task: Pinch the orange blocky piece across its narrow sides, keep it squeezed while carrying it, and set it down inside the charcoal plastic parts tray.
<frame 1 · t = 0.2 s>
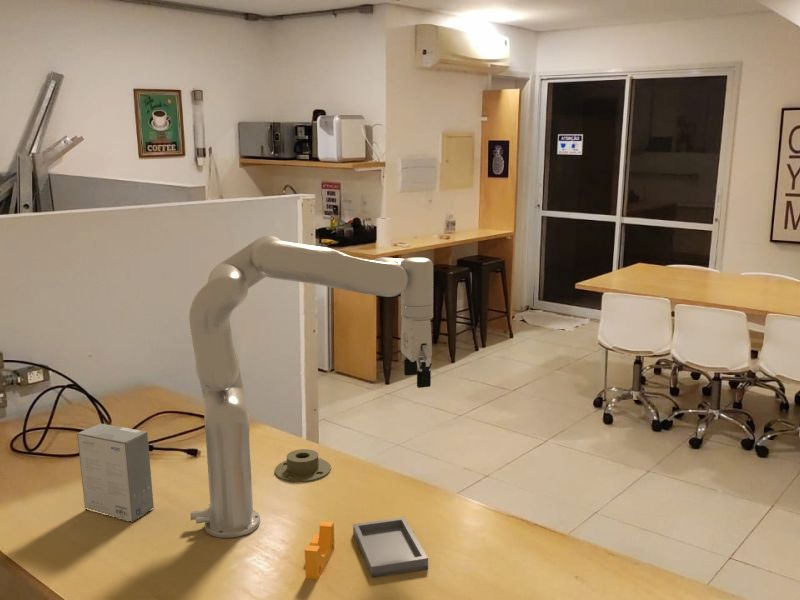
hand: (417, 380, 179), 31 cm above the table, tool pointing down, fingers open, 9 cm apart
flange: (303, 472, 203), on the table
orange blocky piece: (316, 564, 158), on the table
hard drive box: (119, 510, 181), on the table
parts tray: (389, 550, 163), on the table
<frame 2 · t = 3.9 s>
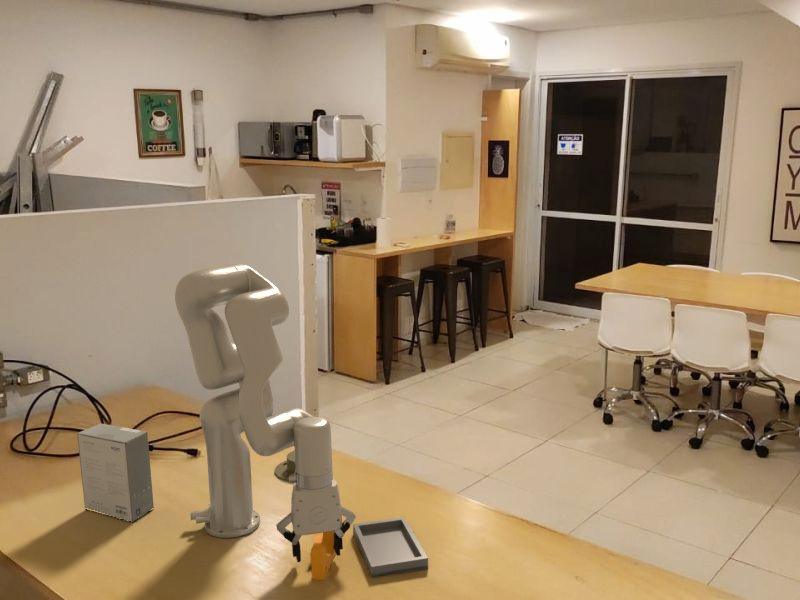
hand: (317, 555, 158), 2 cm above the table, tool pointing down, fingers open, 7 cm apart
orange blocky piece: (321, 563, 158), on the table, touching gripper
everything else where it was.
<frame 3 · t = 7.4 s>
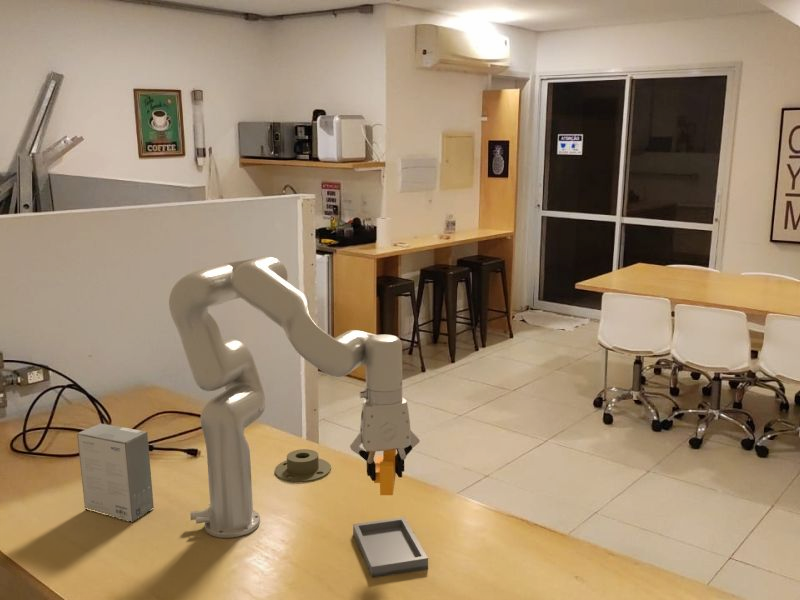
hand: (385, 475, 159), 18 cm above the table, tool pointing down, fingers closed on orange blocky piece, 5 cm apart
orange blocky piece: (384, 482, 159), point 16 cm above the table, touching gripper
everything else where it was.
when the fingers open (4 cm above the table, at t = 10.5 s): orange blocky piece drops 2 cm, resting on parts tray.
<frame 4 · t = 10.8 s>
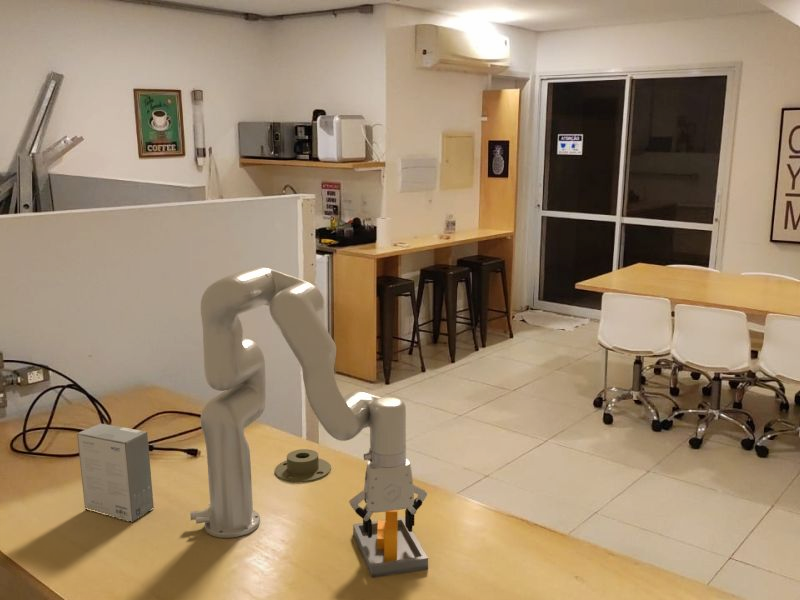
hand: (388, 531, 162), 5 cm above the table, tool pointing down, fingers open, 8 cm apart
orange blocky piece: (387, 548, 162), point 1 cm above the table, touching parts tray
everything else where it was.
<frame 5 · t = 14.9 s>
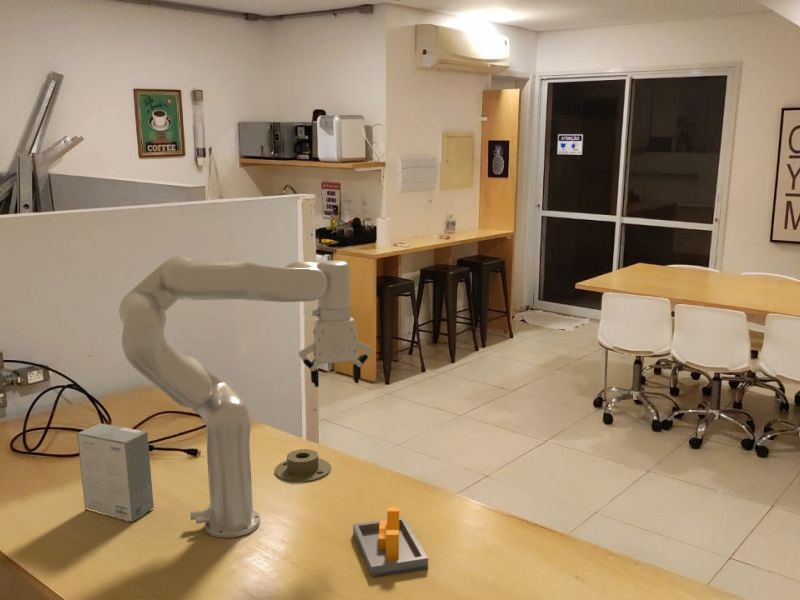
hand: (336, 383, 179), 30 cm above the table, tool pointing down, fingers open, 9 cm apart
nothing on the table moved.
at the end: orange blocky piece inside the target area on the parts tray (0.1 cm from its centre), point 0.6 cm above the parts tray's base; orange blocky piece tilted 0°; the gripper is holding nothing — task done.
